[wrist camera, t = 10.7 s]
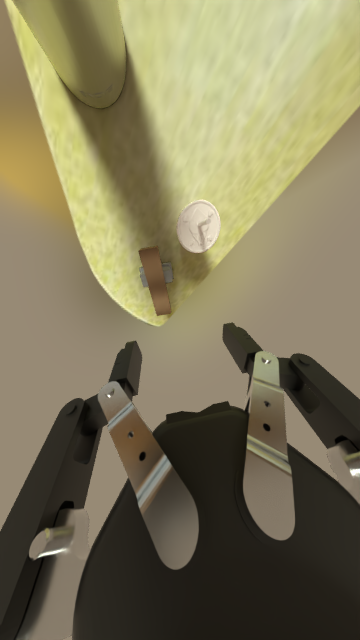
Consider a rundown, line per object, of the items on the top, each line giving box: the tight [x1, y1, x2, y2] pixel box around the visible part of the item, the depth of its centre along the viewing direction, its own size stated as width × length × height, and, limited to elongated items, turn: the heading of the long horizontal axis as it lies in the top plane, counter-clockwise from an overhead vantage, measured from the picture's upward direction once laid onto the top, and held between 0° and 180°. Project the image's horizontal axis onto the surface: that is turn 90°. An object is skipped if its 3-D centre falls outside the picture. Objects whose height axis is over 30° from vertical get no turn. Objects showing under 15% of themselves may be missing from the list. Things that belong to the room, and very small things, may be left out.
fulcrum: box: [139, 262, 173, 287], centre depth 28 cm, size 4×7×5 cm, turn 98°
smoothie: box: [177, 200, 220, 253], centre depth 21 cm, size 6×6×14 cm
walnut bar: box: [139, 246, 171, 316], centre depth 25 cm, size 12×3×4 cm, turn 8°
